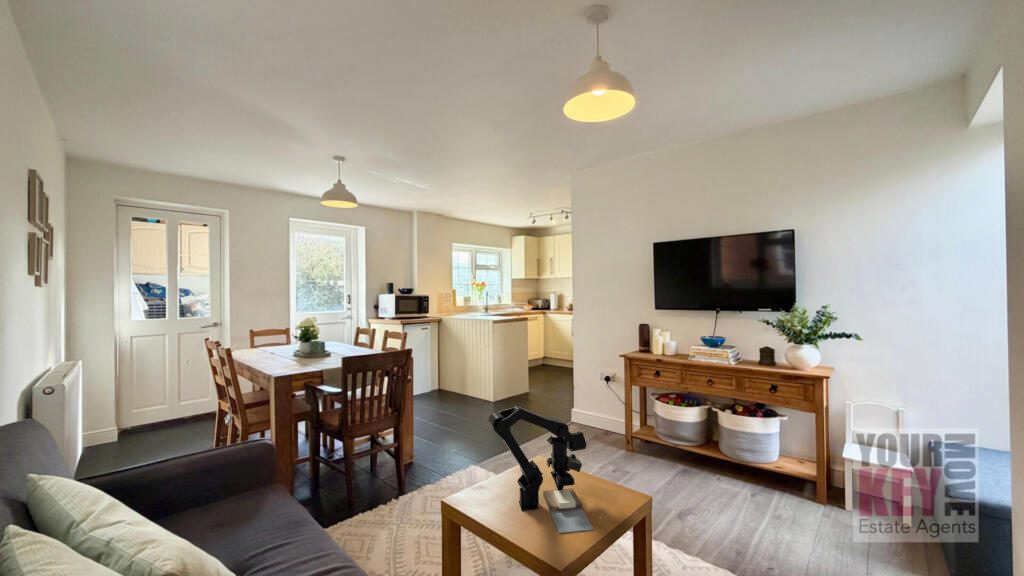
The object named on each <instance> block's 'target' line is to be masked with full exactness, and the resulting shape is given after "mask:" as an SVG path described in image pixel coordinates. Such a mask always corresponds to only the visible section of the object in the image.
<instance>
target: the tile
mask: <svg viewBox="0 0 1024 576" xmlns="http://www.w3.org/2000/svg"><path fill="white" fill-rule="evenodd" d="M567 489H568V490H558V489H557V490H558V491H553V496H554V498H555V500H556V502H557V504H558V506H559V508H560V509H562V508H571V507H576V503H575V500H574V498H573V496H572V495H571V493H570V491H569V488H567Z"/></svg>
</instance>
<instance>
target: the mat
mask: <svg viewBox="0 0 1024 576" xmlns="http://www.w3.org/2000/svg"><path fill="white" fill-rule="evenodd" d="M549 512H550V511H549ZM549 514H550V516H551V517H552V520H553V522H554V525H555V527H556V529H557V532H558V534H559V535H560V534H569V533H579V532H580V533H581V532H586V531H588V532H589V531H594V527H593V525H592V524H591V522H590V520H589V518H588V516H587V515H586V513H585V511H584V510H583V508H582V509H573V510H563V511H553V512H550V513H549Z"/></svg>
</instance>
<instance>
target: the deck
mask: <svg viewBox="0 0 1024 576" xmlns="http://www.w3.org/2000/svg"><path fill="white" fill-rule="evenodd" d="M568 489H569V491H570V493H571V495H572V496H573V498H574V500H575V503H576V507H571V508H562V509H560V508H559V506H558V504H557V502H556V500H555V498H554V496H553V491H558V489H549V490H543V491H542V495H543V496H542V497H543V498H544V501H545V503H546V505H547V508H548V511H549V512H553V511H563V510H573V509H583V505H582V502H581V500H580V499H579V497H578V495H577V493H576V491H575V489H574V488H573V487H572V488H571V487H570V488H563V490H568Z"/></svg>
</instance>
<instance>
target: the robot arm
mask: <svg viewBox="0 0 1024 576" xmlns="http://www.w3.org/2000/svg"><path fill="white" fill-rule="evenodd" d="M520 420H522V421H525V422H527V423H529V424H532V425H534V426H538V427H540V428H543V429H545V430H547V431H548V432H549V433H550V434H552V435H554V436H552V435H550V436H549V437H548V438H547V439H546V442H547V443H549V445H551V453H550V457H548V458H547V459H546V466H547V468H551V471H550V475H551V477H552V479H553V481H554V485H555V486H556V488H557V489H556V490H563V489H564V487H567V486H574V485H575V484H576V483H575V478H574V476H573V475H572V474H571V473H570V471H571V470H572V471H575V472H577V473H580V472H581V469H582V466H583V463H582V462H581V461H580V460H579V458H577V456H576V454H575V453H570V455H569V456H568V450H569V451H570V452H578V451H583V450H586V448H587V442H586V438H585V436H584V433H583V432H582V431H581V430H580V431H577V432H573V433H572V432H570V428H569V425H568V424H567V423H565V422H564V421H563V420H562V419H560V418H556V417H548V416H547V417H546V416H544V415H542V414H539V413H536V412H533V411H531V410H529V409H525V408H523V407H521V406H520V405H515V406H513V407H511V408H507V409H502V410H499V411H498V412H497V411H496V412H495V411H494V412H492V413H491V414H490V415H489V417H488V421H487V422H488V425H489V426H490V427H491V428H492V430H493V431H494V432H495V433H496V434H497V435H498V436H499V437H500V438H501V439H502V440H503V442H504V443H505V445H506V447H507V448H508V450H509V451H510V453H511V455H512V456H513V458H514V459H515V460H516V462H517V463H518V465H519V468H520V472H521V476H520V477H519V478H518V479H517V480H516V482H517V484H518V486H519V500H518V504H519V507H520V510H521V511H532V510H539V505H540V497H539V492H540V488H541V485H542V484H543V482H544V477H543V475H544V474H543V473H542V471H541V470H540V468H539V465H537V463H536V462H535V461H534V460H533V459H531V460H530V461H529V459H528V458H527V456H526V455H525V453H524V452H523V450H522V448H521V446H520V445H519V444H518V442H517V440H516V439H515V437H514V435H513V433H512V430H511V427H513V426H514V425H515V424H516V423H517V422H518V421H520Z"/></svg>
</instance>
